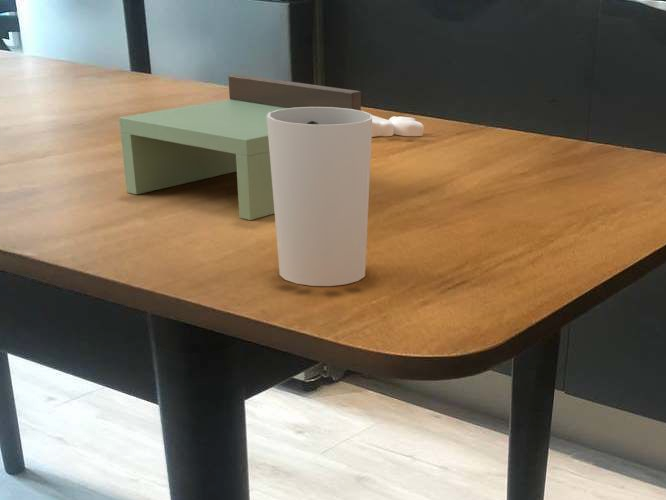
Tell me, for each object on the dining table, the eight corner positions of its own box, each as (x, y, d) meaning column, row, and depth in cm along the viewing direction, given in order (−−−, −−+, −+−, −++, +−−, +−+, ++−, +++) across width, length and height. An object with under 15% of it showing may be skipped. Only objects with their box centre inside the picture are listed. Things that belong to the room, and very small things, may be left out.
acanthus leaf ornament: (423, 137, 116) (424, 118, 115) (364, 141, 114) (364, 122, 113) (396, 124, 122) (397, 106, 121) (339, 127, 119) (339, 109, 119)
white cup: (252, 276, 72) (244, 116, 67) (312, 253, 76) (308, 103, 72) (334, 294, 69) (332, 129, 64) (391, 269, 74) (393, 114, 69)
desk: (250, 220, 84) (245, 111, 80) (126, 192, 91) (115, 90, 87) (361, 189, 94) (361, 91, 90) (242, 166, 101) (237, 74, 97)
